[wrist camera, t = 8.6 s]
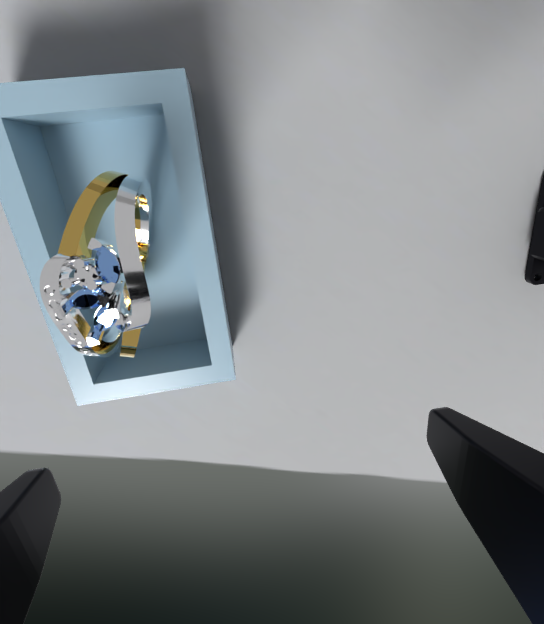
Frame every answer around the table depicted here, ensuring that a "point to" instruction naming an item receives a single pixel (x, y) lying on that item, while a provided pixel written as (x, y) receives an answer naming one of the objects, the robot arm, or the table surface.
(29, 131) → the box
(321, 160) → the table surface
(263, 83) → the table surface
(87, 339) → the ring
